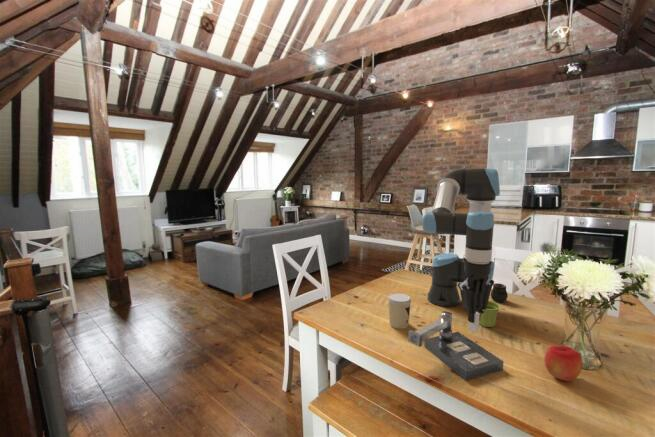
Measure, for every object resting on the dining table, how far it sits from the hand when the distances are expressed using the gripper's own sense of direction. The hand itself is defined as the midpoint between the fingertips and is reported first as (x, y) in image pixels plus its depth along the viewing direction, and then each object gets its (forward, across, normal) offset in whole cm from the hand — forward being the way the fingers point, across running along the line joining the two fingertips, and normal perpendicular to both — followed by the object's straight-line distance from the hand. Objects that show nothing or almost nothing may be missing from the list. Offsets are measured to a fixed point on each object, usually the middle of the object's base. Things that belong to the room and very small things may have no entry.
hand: (473, 330), depth 100 cm
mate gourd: (+13, -52, -35) cm, 64 cm away
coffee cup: (+12, +7, -32) cm, 35 cm away
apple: (+12, -21, +15) cm, 28 cm away
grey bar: (+6, +8, -10) cm, 14 cm away
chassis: (+12, 0, -4) cm, 13 cm away
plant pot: (+13, -27, -19) cm, 35 cm away
